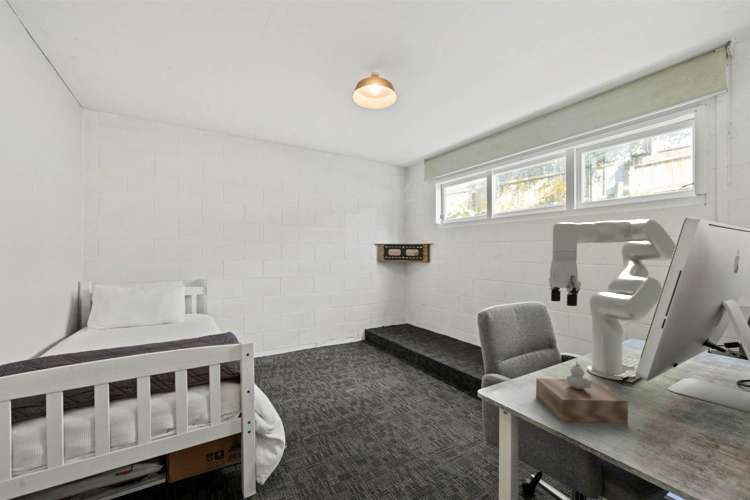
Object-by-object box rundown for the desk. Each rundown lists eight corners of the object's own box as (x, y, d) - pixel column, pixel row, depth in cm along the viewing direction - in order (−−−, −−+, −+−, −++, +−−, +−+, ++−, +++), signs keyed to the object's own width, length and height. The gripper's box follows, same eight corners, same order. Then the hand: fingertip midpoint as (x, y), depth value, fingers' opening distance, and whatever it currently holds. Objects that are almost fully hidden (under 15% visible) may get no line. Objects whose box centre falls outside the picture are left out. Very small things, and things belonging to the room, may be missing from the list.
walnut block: (592, 398, 98) (592, 379, 98) (627, 422, 84) (628, 401, 84) (536, 396, 99) (536, 378, 99) (562, 421, 85) (562, 399, 85)
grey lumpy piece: (571, 382, 96) (571, 357, 96) (595, 391, 90) (596, 364, 90) (562, 387, 93) (563, 360, 93) (587, 395, 87) (588, 367, 87)
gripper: (541, 255, 120) (540, 299, 120) (568, 256, 103) (567, 307, 103) (560, 256, 120) (559, 299, 120) (591, 257, 103) (590, 308, 103)
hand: (563, 303), depth 111 cm, fingers open, 9 cm apart
